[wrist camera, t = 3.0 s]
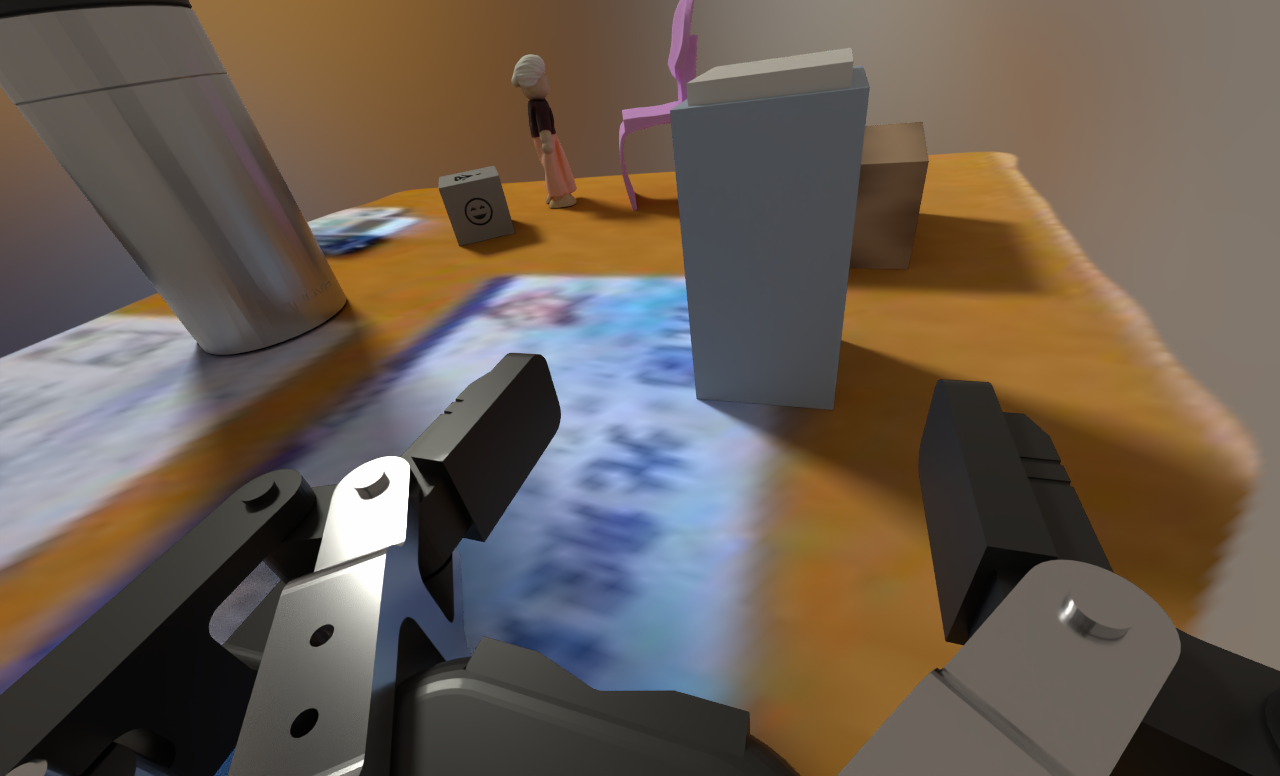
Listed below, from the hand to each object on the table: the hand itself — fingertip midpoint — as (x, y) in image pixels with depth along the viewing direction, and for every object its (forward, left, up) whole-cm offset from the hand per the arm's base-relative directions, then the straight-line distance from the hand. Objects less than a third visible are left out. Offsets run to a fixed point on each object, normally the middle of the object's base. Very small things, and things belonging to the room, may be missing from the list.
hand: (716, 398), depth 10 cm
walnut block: (+2, +27, -7) cm, 28 cm away
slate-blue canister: (0, +11, -7) cm, 13 cm away
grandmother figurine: (-24, +39, -7) cm, 46 cm away
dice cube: (-28, +30, -7) cm, 42 cm away
